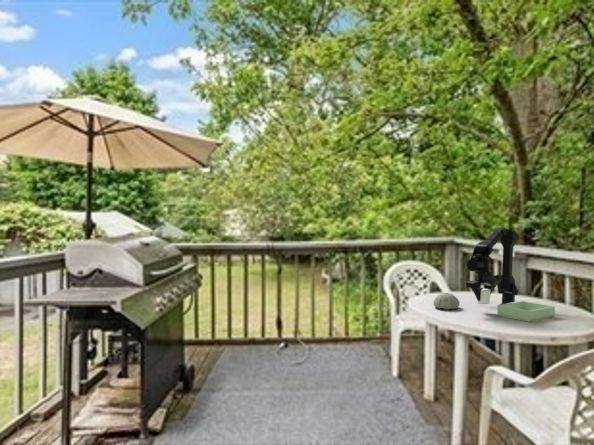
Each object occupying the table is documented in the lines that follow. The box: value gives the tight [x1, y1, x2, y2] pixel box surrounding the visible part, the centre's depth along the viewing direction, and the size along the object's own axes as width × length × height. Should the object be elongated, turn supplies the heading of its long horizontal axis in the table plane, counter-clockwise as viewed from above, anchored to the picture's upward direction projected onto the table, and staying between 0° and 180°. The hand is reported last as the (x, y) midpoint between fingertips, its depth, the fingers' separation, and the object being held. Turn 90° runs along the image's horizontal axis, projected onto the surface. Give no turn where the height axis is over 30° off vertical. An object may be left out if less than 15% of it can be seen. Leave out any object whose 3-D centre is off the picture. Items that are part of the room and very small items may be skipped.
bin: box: [496, 300, 556, 323], centre depth 278 cm, size 18×18×5 cm
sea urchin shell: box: [433, 292, 461, 310], centre depth 300 cm, size 13×14×8 cm
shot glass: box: [476, 287, 492, 305], centre depth 287 cm, size 7×7×7 cm
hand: (483, 300), depth 287 cm, fingers closed on shot glass, 6 cm apart
